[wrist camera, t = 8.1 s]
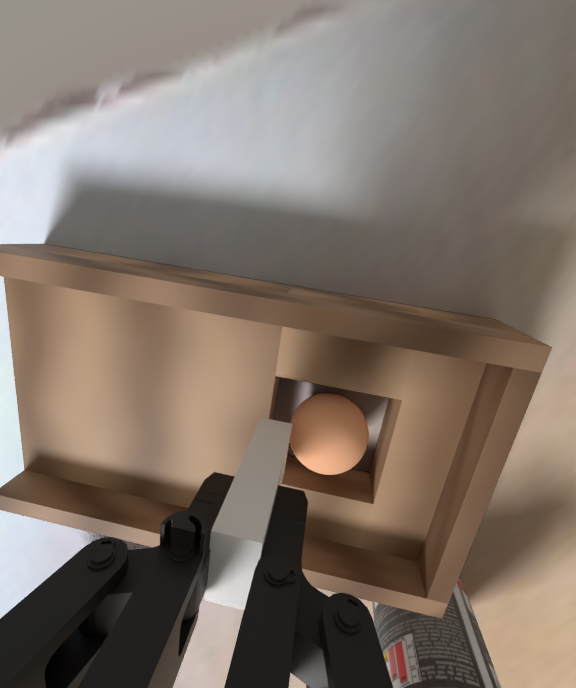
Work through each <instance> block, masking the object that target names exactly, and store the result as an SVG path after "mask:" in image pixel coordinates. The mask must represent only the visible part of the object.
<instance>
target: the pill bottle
mask: <svg viewBox="0 0 576 688" xmlns="http://www.w3.org/2000/svg"><path fill="white" fill-rule="evenodd" d="M372 604H373V614H374V623H375V629H376V632H377V636H378V639H379V642H380V645H381V649H382V652H383V655H384V658H385V662H386V665H387V668H388V672H389V675H390V678H391V681H392V685H393V688H501V686H500V683H499V680H498V677H497V675H496V672H495V669H494V667H493V664H492V661H491V658H490V656H489V653H488V650H487V648H486V645H485V642H484V640H483V637H482V634H481V631H480V629H479V626H478V623H477V620H476V618H475V615H474V612H473V609H472V607H471V604H470V601H469V598H468V596H467V593H466V591H465V589H464V586H463V584H462V583H461V581H460V580H459V578H458V581H457V583H456V586H455V588H454V590H453V593H452V595H451V598H450V600H449V603H448V605H447V608H446V610H445V613H444V615H443V618H442V619H441V618H437V617H433V616H429V615H425V614H421V613H417V612H413V611H409V610H405V609H401V608H397V607H393V606H389V605H385V604H381V603H377V602H372Z"/></svg>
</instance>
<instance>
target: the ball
mask: <svg viewBox="0 0 576 688" xmlns="http://www.w3.org/2000/svg"><path fill="white" fill-rule="evenodd" d="M290 423H291V424H292V429H291V435H290V444H291V448H292V450H293V452H294V454H295V456H296V457H297V458H298V460H299V461H300V462H301V463H302V464H303V465H304V466H305V467H307V468H308V469H310V470H312V471H314V472H316V473H319V474H324V475H335V474H340V473H343V472H346V471H348V470H349V469H351V468H352V467H354V466H355V465H356V464H357V463H358V462H359V461H360V460H361V458H362V457H363V455H364V453H365V451H366V448H367V444H368V435H369V432H368V426H367V422H366V419H365V417H364V415H363V413H362V412H361V410H360V409H359V408H358V407H357V405H356V404H354V403H353V402H352V401H351V400H349V399H348V398H346V397H344V396H341V395H338V394H334V393H322V394H317V395H314V396H311V397H309V398H308V399H306V400H305V401H303V402H302V403H301V404H300V405H299V406H298V408H297V409H296V410H295V412H294V414H293V416H292V418H291V421H290Z"/></svg>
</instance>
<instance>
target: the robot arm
mask: <svg viewBox="0 0 576 688" xmlns="http://www.w3.org/2000/svg"><path fill="white" fill-rule="evenodd" d="M291 429H292V424H291V423H286V422H281V421H276V420H271V419H267V418H262V417H261V418H260V420H259V423H258V425H257V427H256V429H255V432H254V434H253V436H252V439H251V441H250V443H249V445H248V448H247V450H246V452H245V455H244V457H243V459H242V461H241V464H240V466H239V468H238V471H237V473H236V475H235V476H230V475H226V474H221V473H217V472H214V473H212V474H211V475H210V476H209V477H207V478H206V479H205V480H204V481H203V483H202V485H201V487H200V488H199V491H198V492H197V494H196V496H195V497H194V500H193V501H192V503H191V505H190V506H189V508H188V510H187V511H181V512H177V513H174V514H172V515H170V516H168V517H167V518H166V519H165V520H164V521H163V522H162V523H161V525H160V545H158V546H156V547H153V548H147V549H135V550H128V549H127V545H126V544H125V543H124V542H123V541H122V540H121V539H118V538H114V537H108V538H101V539H98V540H95V541H93V542H91V543H90V544H88V545H87V546H85V547H84V548H83V549H82V550H80V551H79V552H78V553H77V554H76V555H75V556H73V557H72V558H71V559H70V560H69V561H67V562H66V563H65V564H64V565H63V566H62V567H60V568H59V569H58V570H57V571H56V572H55V573H53V574H52V575H51V576H50V577H49V578H48V579H46V580H45V581H44V582H43V583H42V584H41V585H39V586H38V587H37V588H36V589H35V590H34V591H32V592H31V593H30V594H29V595H28V596H27V597H25V598H24V599H23V600H22V601H21V602H19V603H18V604H17V605H16V606H15V607H14V608H12V609H11V610H10V611H9V612H8V613H7V614H5V615H4V616H3V617H2V618H1V619H0V688H172V687H173V685H174V682H175V679H176V677H177V674H178V671H179V668H180V666H181V663H182V660H183V658H184V655H185V652H186V649H187V647H188V644H189V641H190V639H191V636H192V633H193V630H194V628H195V625H196V622H197V619H198V613H199V605H200V603H201V600H202V597H203V595H204V592H205V597H204V600H206V601H210V602H214V603H218V604H222V605H225V606H229V607H233V608H237V609H241V610H244V613H243V617H242V621H241V625H240V629H239V633H238V637H237V641H236V645H235V649H234V652H233V656H232V660H231V664H230V668H229V672H228V676H227V680H226V684H225V687H224V688H288V687H289V678H290V672H291V673H292V674H293V675H295V676H296V677H297V678H299V679H300V680H301V681H303V682H304V683H305V684H306V687H307V688H393V685H392V681H391V678H390V675H389V672H388V668H387V665H386V662H385V658H384V655H383V652H382V649H381V645H380V642H379V639H378V636H377V632H376V629H375V626H374V622H373V619H372V617H371V615H370V613H369V610H368V608H367V607H366V606H365V605H364V604H363V603H362V602H361V601H360V600H359V599H358V598H356V597H354V596H353V595H351V594H346V593H337V594H333V595H332V596H330V597H328V596H326V595H325V594H323V593H322V592H320V591H318V590H317V589H316V588H314V587H313V586H312V585H311V584H310V583H309V582H308V580H307V579H306V577H305V575H304V573H303V570H302V561H301V560H302V552H303V543H304V534H305V526H306V517H307V508H308V500H307V498H306V495H305V492H304V491H302V490H298V489H293V488H289V487H284V486H281V484H282V480H283V475H284V470H285V465H286V459H287V453H288V447H289V441H290V435H291Z"/></svg>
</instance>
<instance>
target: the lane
mask: <svg viewBox="0 0 576 688" xmlns="http://www.w3.org/2000/svg"><path fill="white" fill-rule="evenodd" d="M0 276H3V277H4V283H5V292H6V302H7V311H8V320H9V330H10V339H11V348H12V357H13V367H14V376H15V385H16V395H17V404H18V413H19V422H20V432H21V441H22V450H23V459H24V469H25V470H24V471H23V472H21V473H20V474H19V475H17V476H16V477H14V478H13V479H12V480H10V481H9V482H8V483H6V484H5V485H3V486H2V487H1V488H0V510H3V511H7V512H11V513H15V514H19V515H23V516H27V517H31V518H36V519H40V520H44V521H48V522H52V523H56V524H60V525H64V526H68V527H72V528H76V529H80V530H84V531H88V532H92V533H96V534H100V535H105V536H109V537H114V538H118V539H121V540H125V541H129V542H133V543H137V544H141V545H145V546H149V547H156V546H158V545H160V525H161V523H162V522H163V521H164V520H165V519H166V518H167V517H168V516H170V515H172V514H174V513H177V512H181V511H187V510H188V508H189V506H190V505H191V503H192V501H193V500H194V497H195V496H196V494H197V492H198V491H199V488H200V487H201V485H202V483H203V481H204V480H205V479H206V478H207V477H209V476H210V475H211V474H212V473H214V472H217V473H221V474H226V475H230V476H235V475H236V473H237V471H238V468H239V466H240V464H241V461H242V459H243V457H244V455H245V452H246V450H247V448H248V445H249V443H250V441H251V439H252V436H253V434H254V432H255V429H256V427H257V425H258V423H259V420H260V418H261V417H262V418H267V419H271V420H274V416H275V410H276V403H277V397H278V390H279V383H280V377H284V378H289V379H294V380H299V381H304V382H310V383H315V384H320V385H325V386H330V387H336V388H341V389H346V390H351V391H356V392H362V393H367V394H372V395H377V396H382V397H388V398H389V400H388V404H387V408H386V411H385V415H384V419H383V423H382V427H381V431H380V434H379V438H378V442H377V446H376V450H375V453H374V457H373V461H372V465H371V469H370V472H369V473H367V472H362V471H357V470H353V469H349V470H348V471H346V472H343V473H340V474H335V475H324V474H319V473H316V472H314V471H312V470H310V469H308V468H307V467H305V466H304V465H303V464H302V463H301V462H300V461H299V460H298V458H296V457H292V456H287V459H286V465H285V470H284V475H283V480H282V484H281V486H284V487H289V488H293V489H298V490H302V491H304V492H305V495H306V498H307V500H308V508H307V517H306V526H305V534H304V543H303V552H302V560H301V561H302V570H303V573H304V575H305V577H306V579H307V580H308V582H309V583H310V584H311V585H312V586H313V587H316V588H320V589H324V590H328V591H332V592H336V593H346V594H351V595H353V596H354V597H356V598H360V599H364V600H368V601H372V602H377V603H381V604H385V605H389V606H393V607H397V608H401V609H405V610H409V611H413V612H417V613H421V614H425V615H429V616H433V617H437V618H441V619H442V618H443V615H444V613H445V610H446V608H447V605H448V603H449V600H450V598H451V595H452V593H453V590H454V588H455V586H456V583H457V581H458V578H459V576H460V573H461V571H462V568H463V566H464V563H465V561H466V558H467V556H468V553H469V551H470V548H471V546H472V543H473V541H474V539H475V536H476V534H477V531H478V529H479V526H480V524H481V521H482V519H483V516H484V514H485V511H486V509H487V506H488V504H489V501H490V499H491V497H492V494H493V492H494V489H495V487H496V484H497V482H498V479H499V477H500V474H501V472H502V469H503V467H504V464H505V462H506V459H507V457H508V454H509V452H510V450H511V447H512V445H513V442H514V440H515V437H516V435H517V432H518V430H519V427H520V425H521V422H522V420H523V417H524V415H525V412H526V410H527V408H528V405H529V403H530V400H531V398H532V395H533V393H534V390H535V388H536V385H537V383H538V380H539V378H540V375H541V373H542V370H543V368H544V366H545V363H546V361H547V358H548V356H549V353H550V351H551V348H552V347H550V346H548V345H546V344H544V343H542V342H540V341H538V340H536V339H534V338H532V337H530V336H528V335H526V334H524V333H522V332H520V331H518V330H516V329H514V328H512V327H510V326H508V325H506V324H504V323H502V322H500V321H498V320H494V319H488V318H482V317H476V316H470V315H464V314H458V313H452V312H446V311H440V310H434V309H428V308H422V307H416V306H410V305H404V304H398V303H392V302H386V301H381V300H375V299H369V298H363V297H357V296H351V295H345V294H339V293H333V292H327V291H321V290H315V289H309V288H303V287H297V286H291V285H285V284H279V283H273V282H267V281H261V280H255V279H249V278H243V277H237V276H231V275H225V274H219V273H214V272H208V271H202V270H196V269H190V268H184V267H178V266H172V265H166V264H160V263H154V262H148V261H142V260H136V259H130V258H124V257H118V256H112V255H106V254H100V253H94V252H88V251H82V250H76V249H70V248H64V247H58V246H53V245H47V244H0Z"/></svg>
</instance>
